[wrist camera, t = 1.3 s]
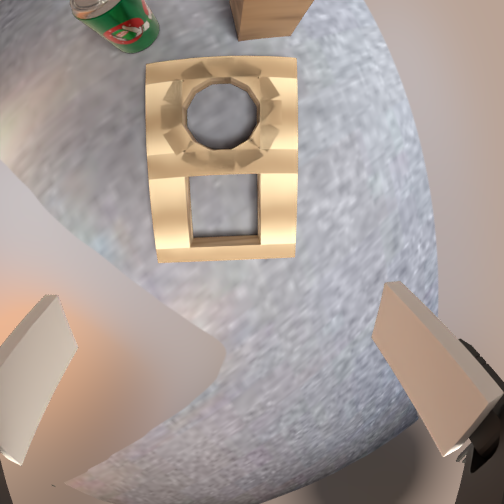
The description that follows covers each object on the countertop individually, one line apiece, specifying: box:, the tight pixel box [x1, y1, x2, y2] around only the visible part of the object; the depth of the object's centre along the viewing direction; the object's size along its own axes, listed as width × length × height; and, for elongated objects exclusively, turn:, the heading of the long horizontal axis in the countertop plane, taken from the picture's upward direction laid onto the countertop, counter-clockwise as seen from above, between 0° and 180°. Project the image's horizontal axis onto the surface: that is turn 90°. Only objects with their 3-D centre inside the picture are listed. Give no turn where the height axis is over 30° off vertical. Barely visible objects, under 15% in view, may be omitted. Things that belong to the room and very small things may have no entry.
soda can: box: [70, 0, 159, 53], centre depth 16 cm, size 5×5×12 cm
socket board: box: [145, 56, 298, 263], centre depth 26 cm, size 20×14×3 cm
